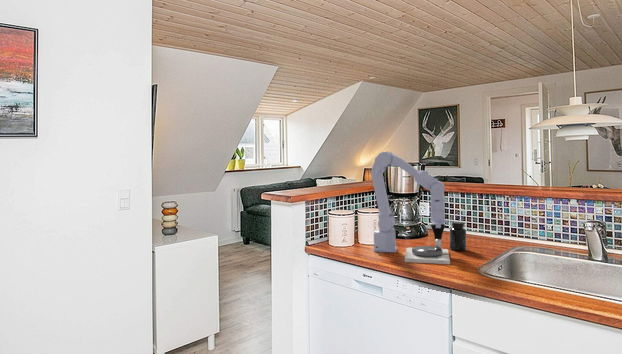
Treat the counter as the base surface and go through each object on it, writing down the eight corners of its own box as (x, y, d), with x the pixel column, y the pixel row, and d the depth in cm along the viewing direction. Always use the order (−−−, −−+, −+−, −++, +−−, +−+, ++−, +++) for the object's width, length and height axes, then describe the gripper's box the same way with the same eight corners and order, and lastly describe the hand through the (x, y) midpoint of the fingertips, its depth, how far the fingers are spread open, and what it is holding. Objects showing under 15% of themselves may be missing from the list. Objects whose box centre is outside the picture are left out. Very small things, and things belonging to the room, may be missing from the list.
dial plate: (404, 261, 152) (404, 257, 151) (407, 250, 168) (407, 247, 168) (449, 264, 146) (449, 260, 146) (447, 252, 163) (447, 248, 163)
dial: (411, 256, 153) (411, 241, 153) (412, 248, 164) (412, 235, 164) (442, 257, 149) (442, 243, 149) (441, 249, 161) (441, 236, 160)
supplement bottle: (467, 251, 163) (467, 224, 163) (451, 251, 165) (450, 224, 164) (464, 247, 170) (464, 221, 169) (448, 247, 172) (448, 221, 171)
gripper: (448, 212, 153) (448, 246, 153) (446, 207, 166) (447, 237, 167) (430, 212, 155) (430, 245, 156) (430, 207, 168) (430, 237, 169)
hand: (438, 241), depth 162 cm, fingers closed
